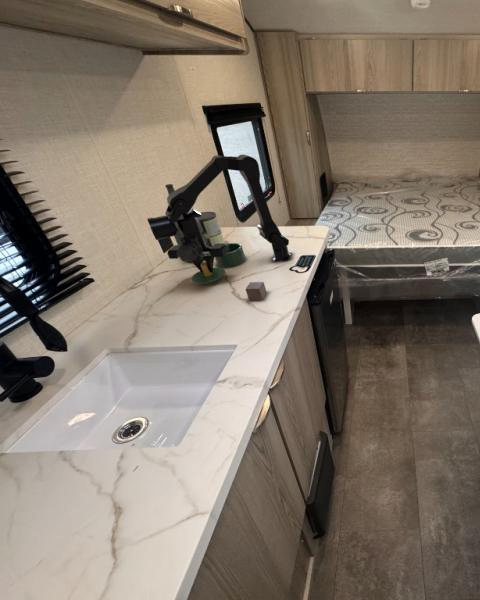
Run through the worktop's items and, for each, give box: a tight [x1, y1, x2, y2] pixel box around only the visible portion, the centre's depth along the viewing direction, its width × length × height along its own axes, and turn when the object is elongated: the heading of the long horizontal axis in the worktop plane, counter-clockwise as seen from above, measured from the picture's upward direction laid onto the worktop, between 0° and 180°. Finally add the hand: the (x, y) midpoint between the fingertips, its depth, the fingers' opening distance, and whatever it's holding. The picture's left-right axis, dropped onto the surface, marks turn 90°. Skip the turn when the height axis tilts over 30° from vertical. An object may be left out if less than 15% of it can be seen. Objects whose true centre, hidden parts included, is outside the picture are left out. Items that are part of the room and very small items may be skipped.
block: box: [245, 281, 268, 302], centre depth 108 cm, size 4×4×4 cm
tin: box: [214, 242, 246, 268], centre depth 131 cm, size 10×10×6 cm
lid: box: [191, 261, 226, 284], centre depth 118 cm, size 11×11×6 cm
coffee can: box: [196, 211, 227, 247], centre depth 142 cm, size 10×10×14 cm
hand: (207, 272), depth 118 cm, fingers closed on lid, 2 cm apart
